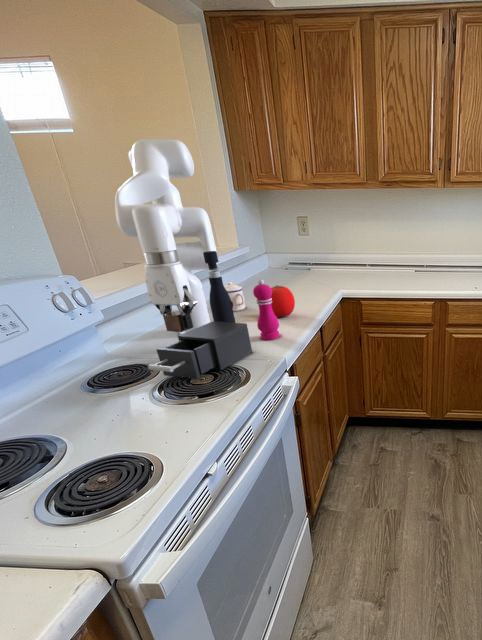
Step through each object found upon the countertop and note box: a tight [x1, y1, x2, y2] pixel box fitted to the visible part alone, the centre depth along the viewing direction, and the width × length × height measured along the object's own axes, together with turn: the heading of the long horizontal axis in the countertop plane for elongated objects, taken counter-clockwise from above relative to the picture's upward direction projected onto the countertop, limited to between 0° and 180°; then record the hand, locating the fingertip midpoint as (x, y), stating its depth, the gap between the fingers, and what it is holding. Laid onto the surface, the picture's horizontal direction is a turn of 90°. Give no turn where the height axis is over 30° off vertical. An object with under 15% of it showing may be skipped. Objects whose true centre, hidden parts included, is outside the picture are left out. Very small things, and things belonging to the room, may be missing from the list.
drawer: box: [147, 339, 218, 380], centre depth 115 cm, size 19×11×8 cm, turn 163°
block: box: [162, 309, 184, 333], centre depth 110 cm, size 4×4×4 cm
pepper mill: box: [252, 279, 280, 341], centre depth 141 cm, size 7×7×20 cm
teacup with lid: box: [224, 281, 246, 312], centre depth 179 cm, size 12×9×12 cm
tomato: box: [270, 284, 296, 318], centre depth 167 cm, size 12×12×13 cm
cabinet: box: [177, 320, 253, 372], centre depth 125 cm, size 15×13×10 cm
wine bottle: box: [203, 251, 236, 323], centre depth 134 cm, size 6×6×30 cm
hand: (180, 327), depth 111 cm, fingers closed on block, 4 cm apart
